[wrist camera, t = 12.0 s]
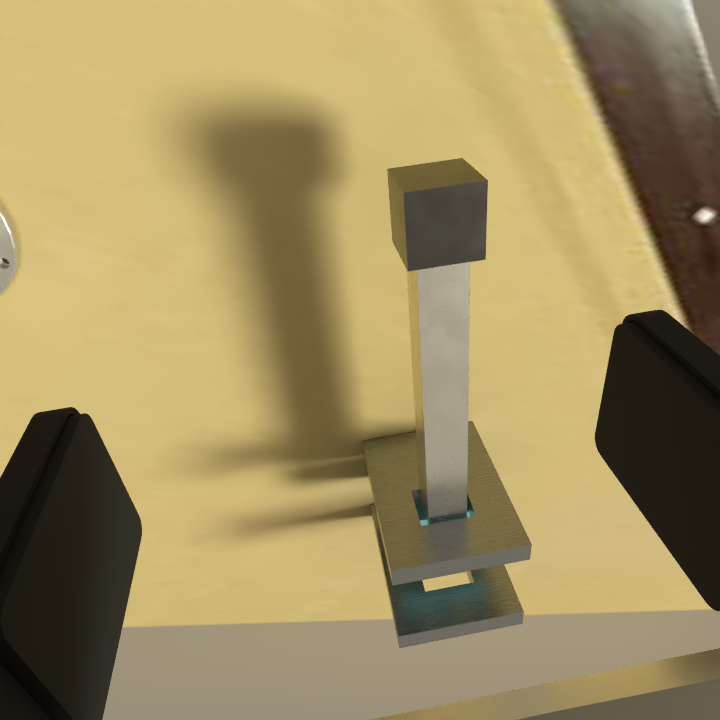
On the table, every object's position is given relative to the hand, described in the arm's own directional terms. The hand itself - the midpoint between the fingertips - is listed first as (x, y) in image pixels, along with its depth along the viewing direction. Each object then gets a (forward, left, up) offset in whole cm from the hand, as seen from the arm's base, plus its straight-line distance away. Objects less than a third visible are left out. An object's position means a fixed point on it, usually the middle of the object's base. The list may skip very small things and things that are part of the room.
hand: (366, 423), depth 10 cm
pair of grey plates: (+40, +8, -36) cm, 55 cm away
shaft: (+19, +8, -29) cm, 36 cm away
